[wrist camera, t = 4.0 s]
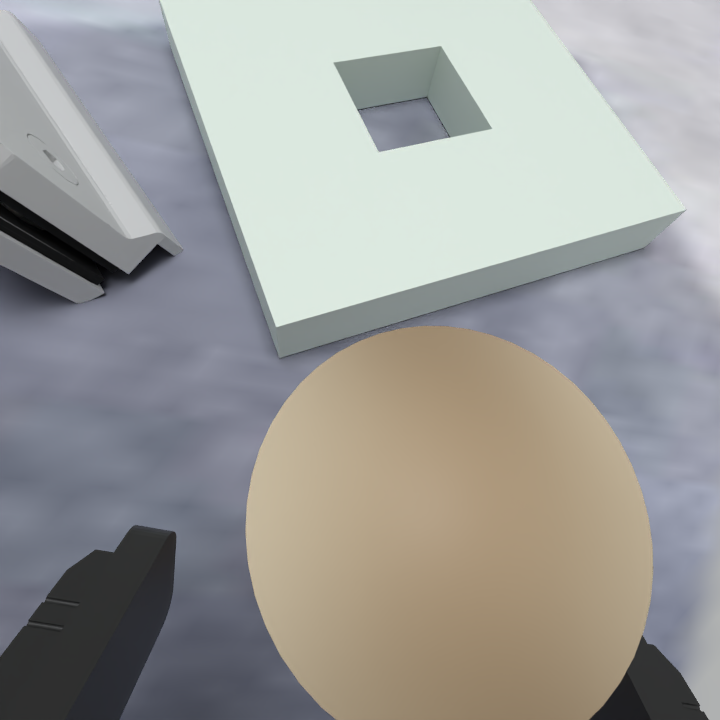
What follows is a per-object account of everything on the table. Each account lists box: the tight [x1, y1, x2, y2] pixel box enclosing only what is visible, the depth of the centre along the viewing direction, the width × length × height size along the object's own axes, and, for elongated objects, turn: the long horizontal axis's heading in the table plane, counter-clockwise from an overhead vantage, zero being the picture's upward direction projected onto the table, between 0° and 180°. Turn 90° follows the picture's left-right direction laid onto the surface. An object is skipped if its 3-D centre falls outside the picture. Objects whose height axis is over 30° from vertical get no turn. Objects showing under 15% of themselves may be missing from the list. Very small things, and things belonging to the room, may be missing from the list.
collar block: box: [159, 0, 686, 358], centre depth 25 cm, size 20×20×3 cm
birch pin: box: [246, 326, 653, 720], centre depth 12 cm, size 4×4×14 cm
